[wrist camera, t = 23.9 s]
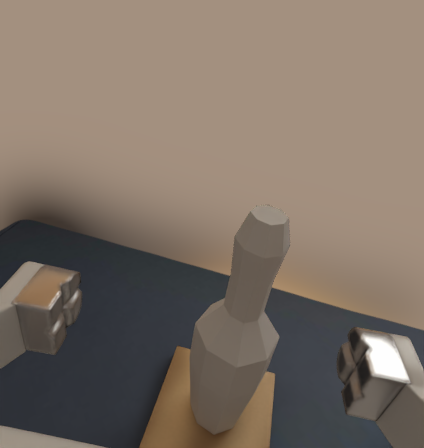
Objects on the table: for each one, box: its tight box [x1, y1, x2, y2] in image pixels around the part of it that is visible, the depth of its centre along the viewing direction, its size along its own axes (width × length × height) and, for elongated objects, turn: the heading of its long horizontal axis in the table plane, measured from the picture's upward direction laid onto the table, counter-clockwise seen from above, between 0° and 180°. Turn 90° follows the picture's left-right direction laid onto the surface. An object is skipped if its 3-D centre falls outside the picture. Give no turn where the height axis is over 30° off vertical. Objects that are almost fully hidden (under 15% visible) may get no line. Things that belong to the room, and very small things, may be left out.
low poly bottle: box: [190, 205, 290, 435], centre depth 27 cm, size 6×6×22 cm
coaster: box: [139, 346, 275, 448], centre depth 34 cm, size 11×11×2 cm
